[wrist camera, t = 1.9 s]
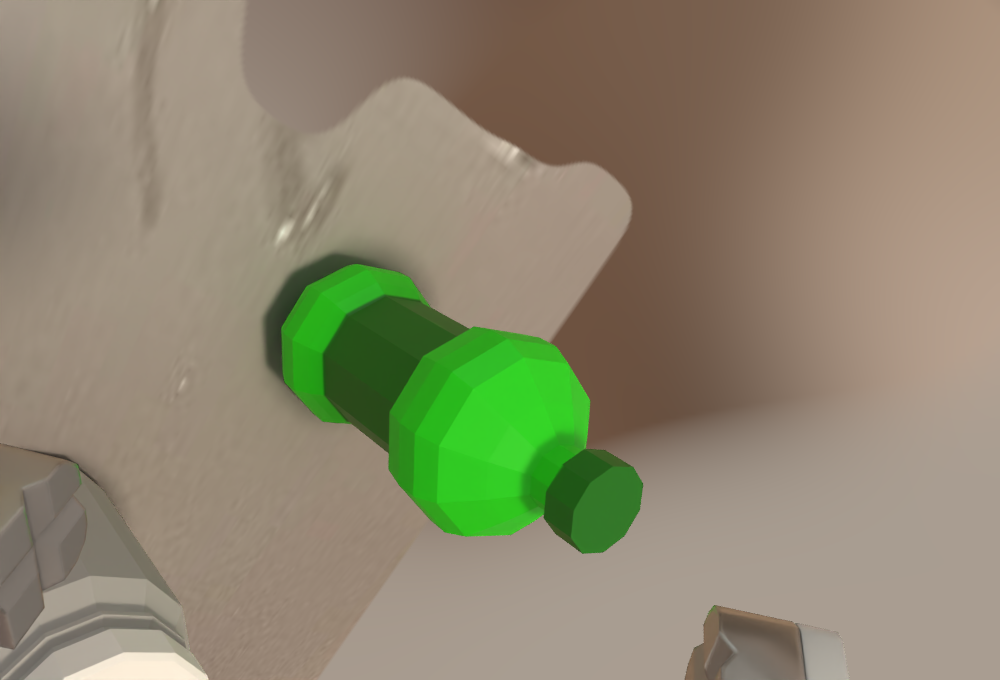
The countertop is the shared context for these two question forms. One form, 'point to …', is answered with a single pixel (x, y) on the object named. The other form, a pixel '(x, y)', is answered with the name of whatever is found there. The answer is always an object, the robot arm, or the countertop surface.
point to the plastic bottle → (457, 411)
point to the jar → (106, 613)
